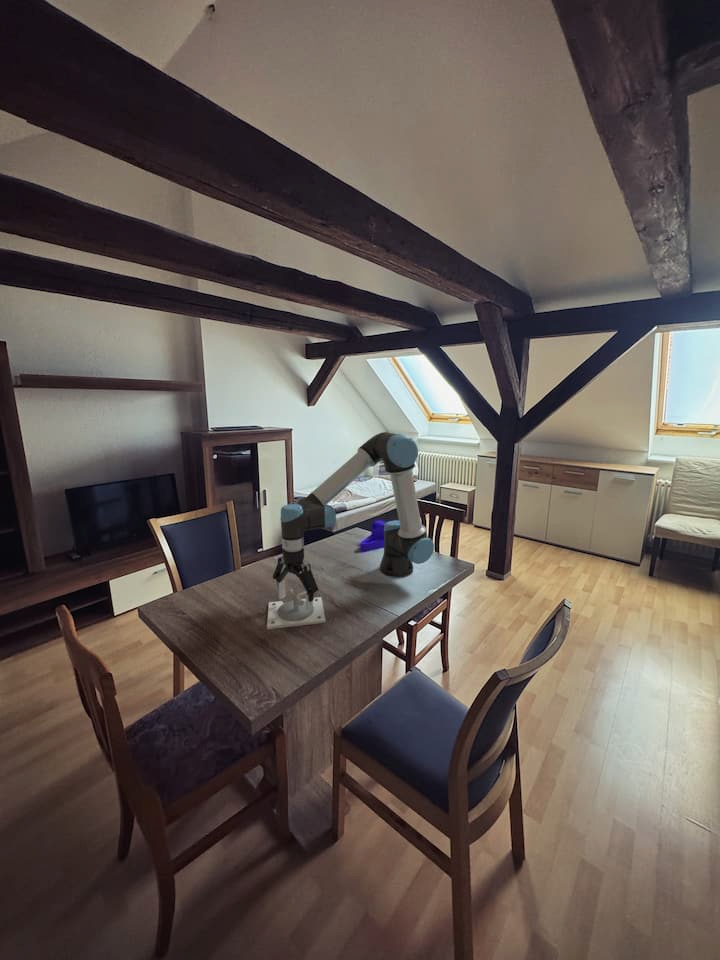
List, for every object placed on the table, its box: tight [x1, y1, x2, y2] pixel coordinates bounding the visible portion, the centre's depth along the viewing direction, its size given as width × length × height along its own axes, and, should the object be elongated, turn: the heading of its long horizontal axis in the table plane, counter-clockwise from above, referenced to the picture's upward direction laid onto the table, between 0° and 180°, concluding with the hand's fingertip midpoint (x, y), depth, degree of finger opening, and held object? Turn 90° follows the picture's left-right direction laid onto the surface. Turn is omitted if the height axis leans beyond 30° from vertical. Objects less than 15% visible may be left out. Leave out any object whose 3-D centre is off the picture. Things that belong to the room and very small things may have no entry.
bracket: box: [359, 519, 388, 553], centre depth 199 cm, size 18×11×12 cm, turn 136°
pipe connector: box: [281, 582, 307, 611], centre depth 138 cm, size 10×10×10 cm
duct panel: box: [266, 596, 327, 630], centre depth 139 cm, size 20×16×2 cm
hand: (295, 603), depth 138 cm, fingers open, 13 cm apart
